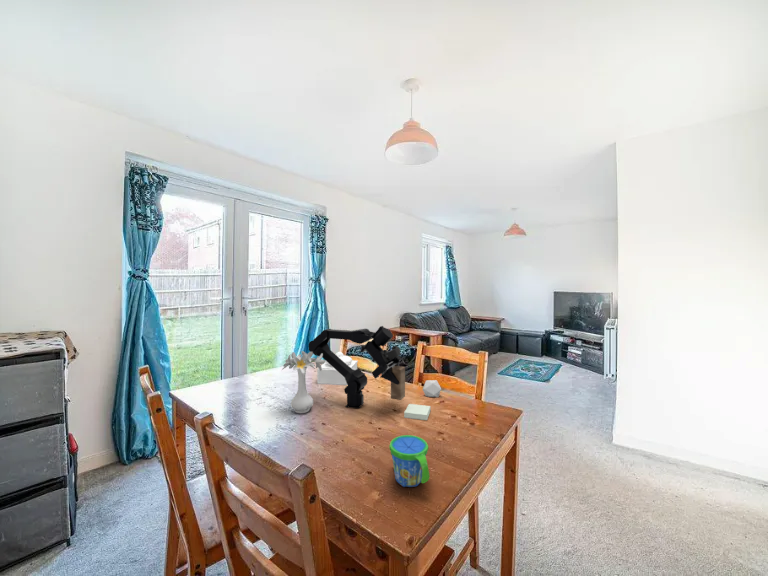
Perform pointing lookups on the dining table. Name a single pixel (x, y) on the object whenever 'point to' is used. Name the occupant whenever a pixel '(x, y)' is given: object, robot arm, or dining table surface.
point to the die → (432, 388)
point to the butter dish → (334, 371)
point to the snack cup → (409, 460)
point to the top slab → (417, 411)
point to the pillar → (399, 389)
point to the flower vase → (302, 379)
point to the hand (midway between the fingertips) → (400, 382)
